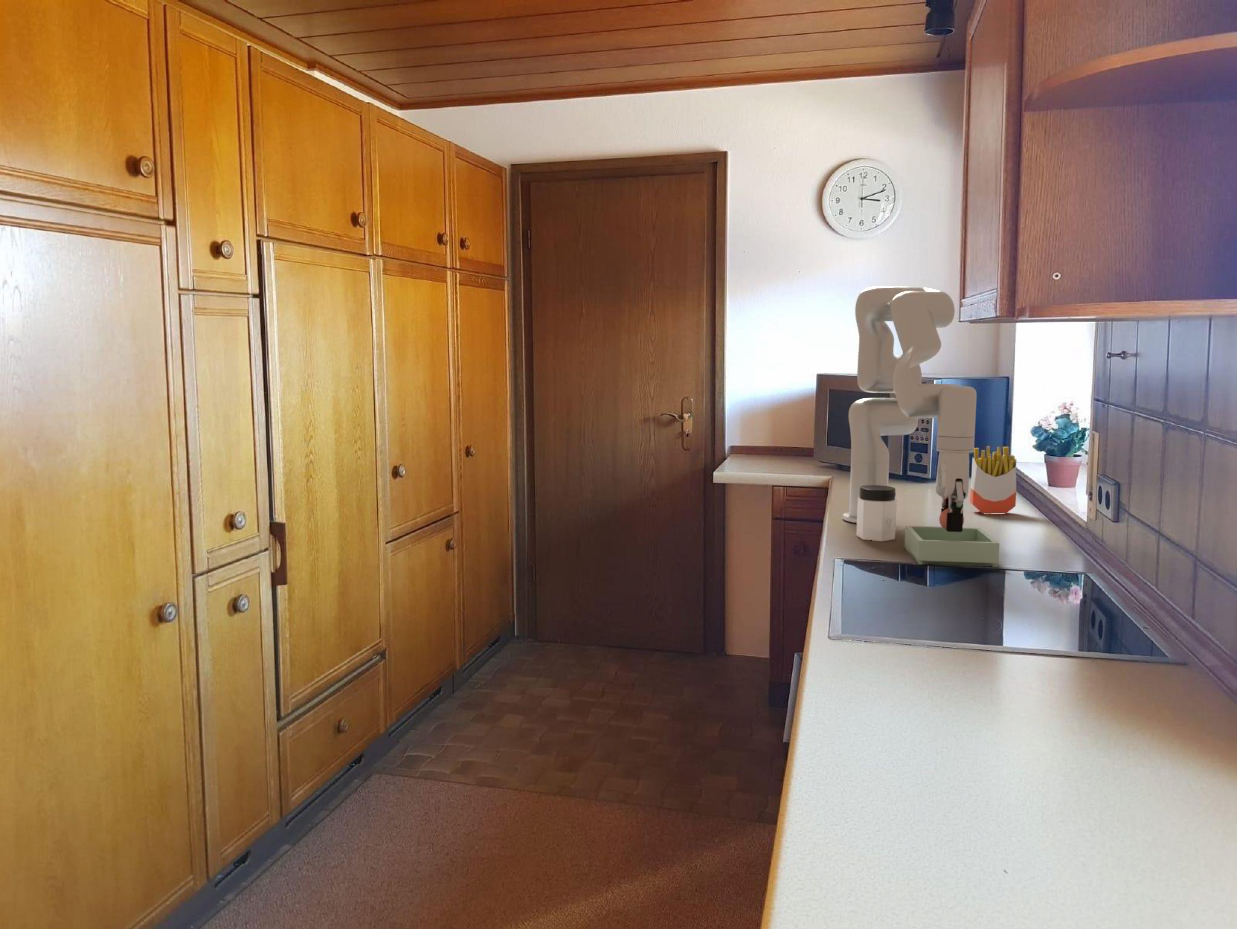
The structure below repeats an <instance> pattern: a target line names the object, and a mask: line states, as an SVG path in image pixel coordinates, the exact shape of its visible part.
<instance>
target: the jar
mask: <svg viewBox="0 0 1237 929" xmlns="http://www.w3.org/2000/svg"><path fill="white" fill-rule="evenodd" d="M896 493H897V492H896V488H895V487H893V486H890V485H888V486H881V485H865V486H861V487H860V494H859V497H858V506H857V523H856V533H855V534H856V537H857V538H858V537H859V538H860V540H863V541H870V540H872V542H881V543H882V542H887V541H894V540H895V539H896V523H897V505H898V504H897V502H898V501H897V499H896V496H897V495H896Z"/></svg>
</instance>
